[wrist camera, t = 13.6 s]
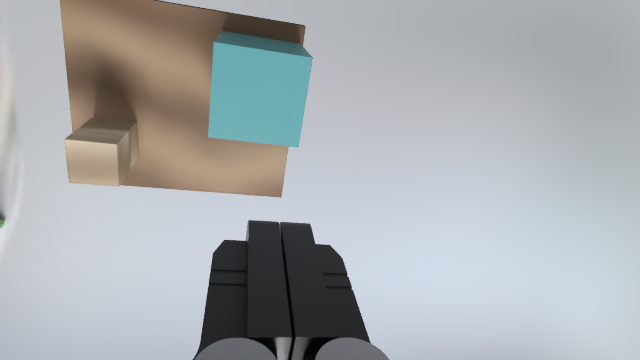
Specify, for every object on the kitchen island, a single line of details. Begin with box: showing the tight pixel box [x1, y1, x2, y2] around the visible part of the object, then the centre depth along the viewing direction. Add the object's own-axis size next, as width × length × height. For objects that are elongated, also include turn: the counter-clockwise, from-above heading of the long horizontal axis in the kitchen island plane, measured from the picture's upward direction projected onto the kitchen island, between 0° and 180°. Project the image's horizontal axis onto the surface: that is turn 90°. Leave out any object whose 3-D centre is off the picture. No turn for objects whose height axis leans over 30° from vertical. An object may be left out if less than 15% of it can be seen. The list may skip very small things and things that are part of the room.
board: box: [60, 0, 305, 197], centre depth 28 cm, size 14×16×6 cm
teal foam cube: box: [208, 31, 313, 147], centre depth 26 cm, size 6×6×7 cm
